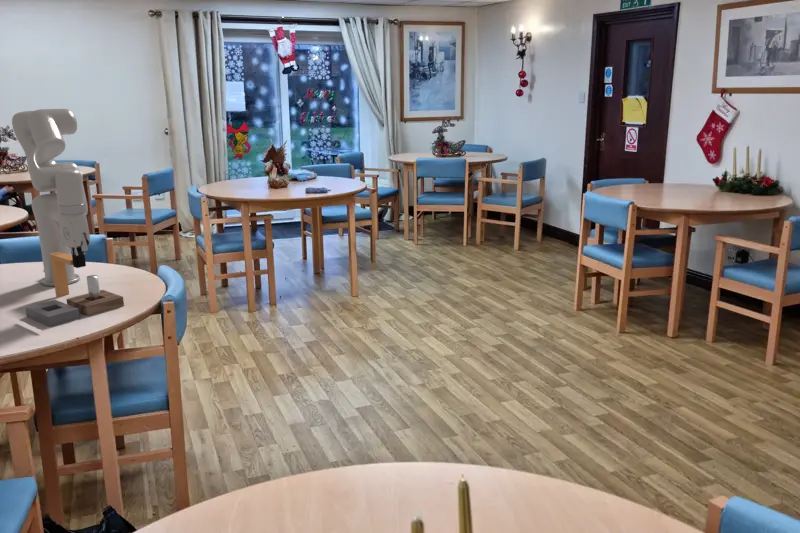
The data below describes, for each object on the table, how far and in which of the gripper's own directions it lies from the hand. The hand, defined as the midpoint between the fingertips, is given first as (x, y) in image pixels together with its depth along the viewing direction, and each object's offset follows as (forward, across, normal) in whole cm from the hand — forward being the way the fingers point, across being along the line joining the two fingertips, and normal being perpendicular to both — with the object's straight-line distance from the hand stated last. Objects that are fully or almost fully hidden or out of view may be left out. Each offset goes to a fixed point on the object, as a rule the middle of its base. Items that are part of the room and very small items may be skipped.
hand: (79, 266), depth 215 cm
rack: (+13, +6, -13) cm, 19 cm away
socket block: (+13, +7, 0) cm, 15 cm away
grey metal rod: (+12, +7, 0) cm, 14 cm away
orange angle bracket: (+13, -9, 0) cm, 15 cm away
